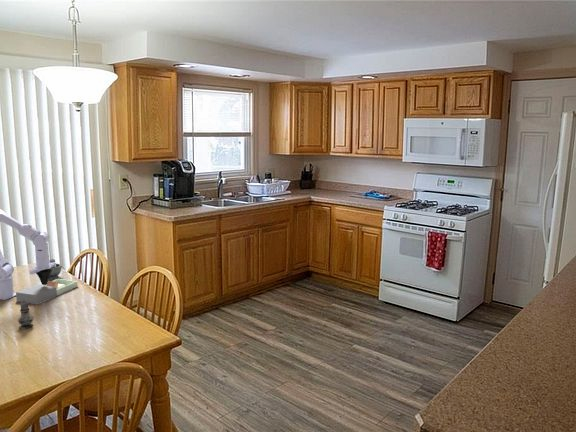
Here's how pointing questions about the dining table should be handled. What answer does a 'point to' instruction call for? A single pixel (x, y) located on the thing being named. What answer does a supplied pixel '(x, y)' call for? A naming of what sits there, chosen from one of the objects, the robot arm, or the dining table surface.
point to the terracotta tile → (52, 284)
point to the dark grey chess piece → (25, 316)
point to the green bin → (67, 287)
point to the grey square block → (36, 294)
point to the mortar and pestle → (54, 270)
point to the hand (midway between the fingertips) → (44, 284)
